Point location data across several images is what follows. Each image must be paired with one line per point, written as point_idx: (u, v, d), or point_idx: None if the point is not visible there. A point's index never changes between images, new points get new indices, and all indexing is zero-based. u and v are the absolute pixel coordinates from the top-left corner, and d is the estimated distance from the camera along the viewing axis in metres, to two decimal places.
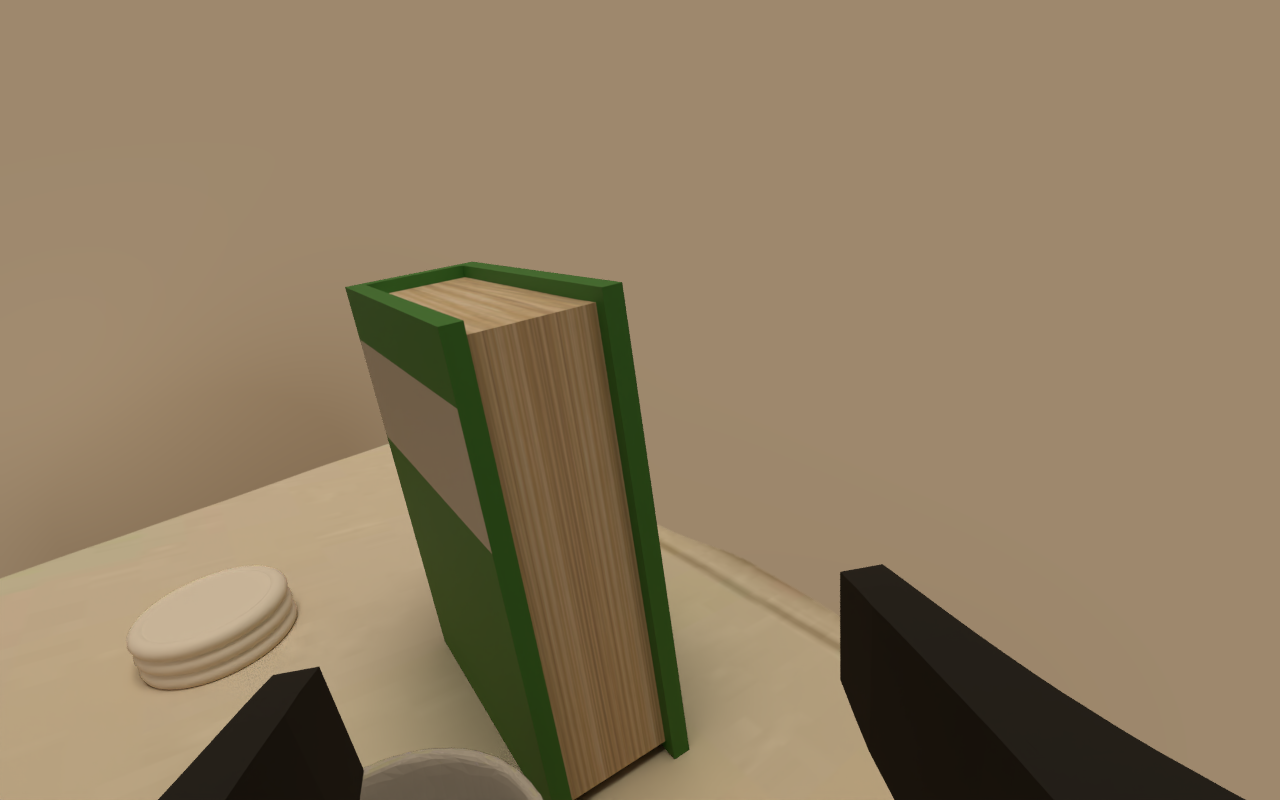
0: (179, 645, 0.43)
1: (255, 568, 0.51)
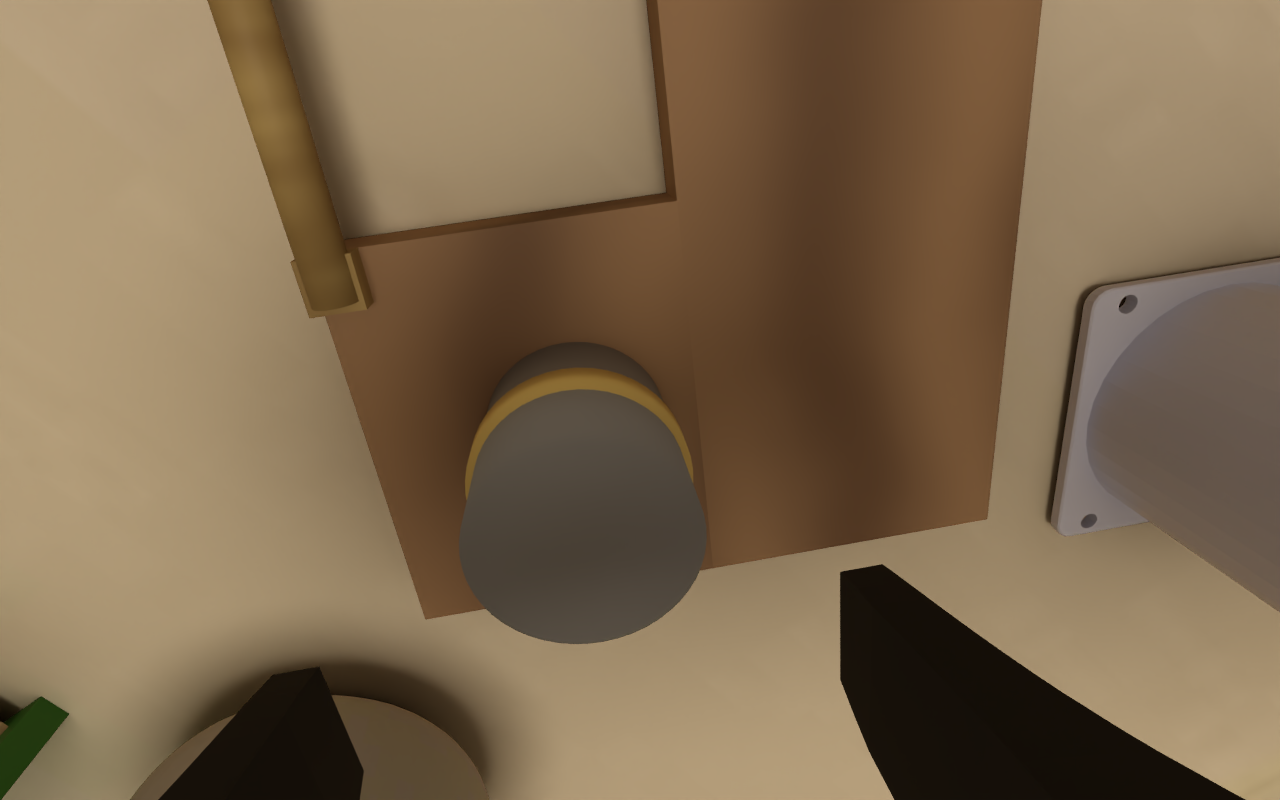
0: None
1: None
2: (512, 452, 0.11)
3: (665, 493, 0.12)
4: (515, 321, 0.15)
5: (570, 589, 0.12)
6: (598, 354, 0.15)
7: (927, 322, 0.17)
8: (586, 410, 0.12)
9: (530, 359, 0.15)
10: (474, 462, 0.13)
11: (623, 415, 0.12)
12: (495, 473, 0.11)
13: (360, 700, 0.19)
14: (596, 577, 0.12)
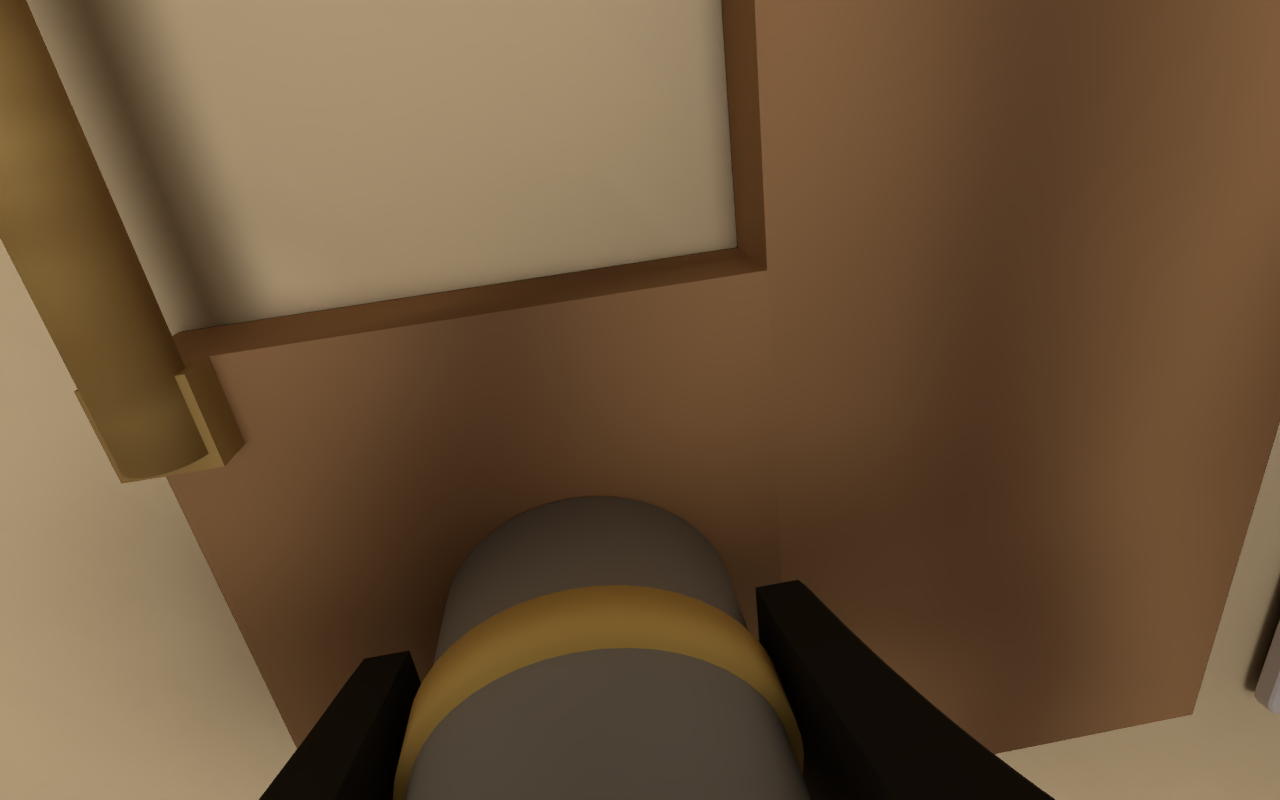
0: None
1: None
2: None
3: None
4: (490, 467, 0.09)
5: None
6: (629, 529, 0.09)
7: (1150, 451, 0.10)
8: (622, 729, 0.06)
9: (514, 531, 0.09)
10: (408, 773, 0.07)
11: (695, 730, 0.06)
12: None
13: None
14: None
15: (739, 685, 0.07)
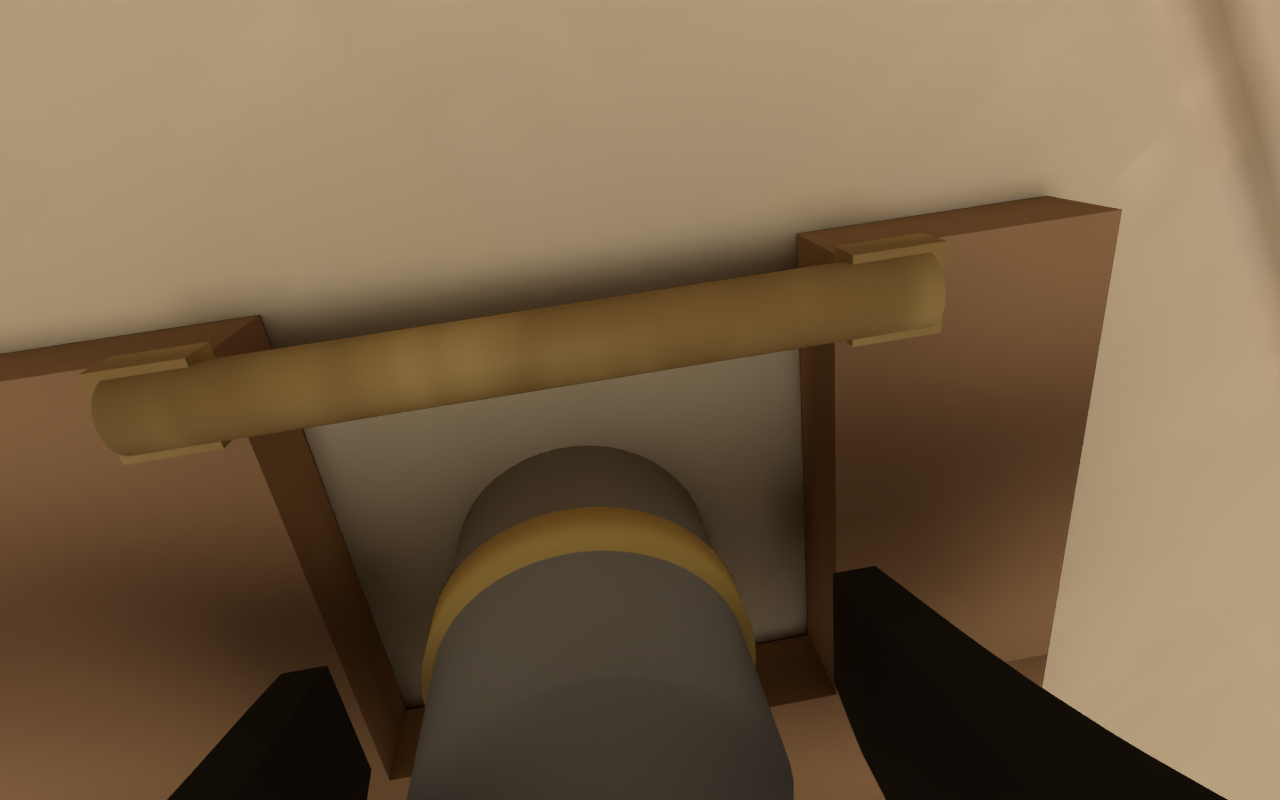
0: None
1: None
2: (502, 686, 0.07)
3: (740, 752, 0.07)
4: (169, 627, 0.10)
5: None
6: (625, 472, 0.11)
7: None
8: (620, 602, 0.08)
9: (528, 468, 0.11)
10: (438, 644, 0.09)
11: (676, 609, 0.08)
12: (471, 725, 0.07)
13: None
14: None
15: (709, 589, 0.09)
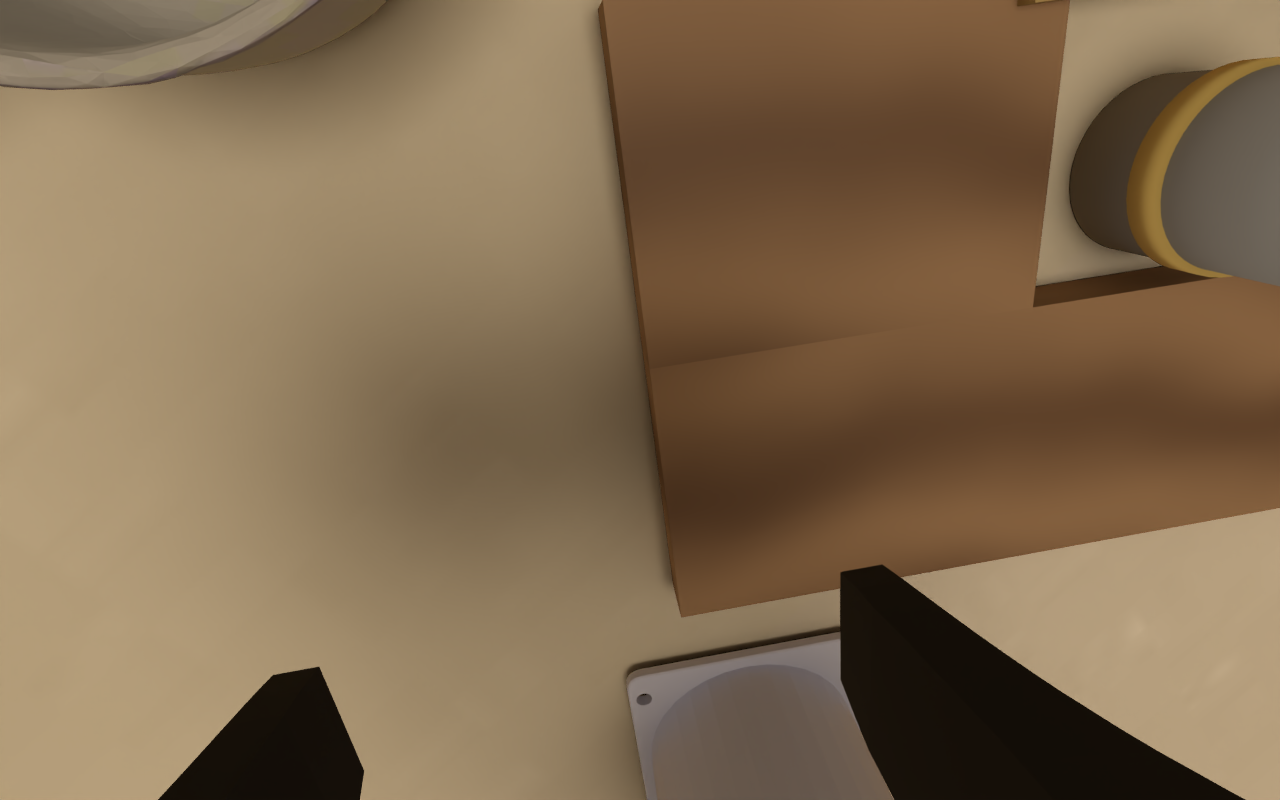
0: None
1: None
2: None
3: None
4: (965, 156, 0.16)
5: None
6: None
7: (886, 522, 0.20)
8: None
9: (1156, 78, 0.17)
10: (1188, 125, 0.14)
11: None
12: None
13: None
14: None
15: None
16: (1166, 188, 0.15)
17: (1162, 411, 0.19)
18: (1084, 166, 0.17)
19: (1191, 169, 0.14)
